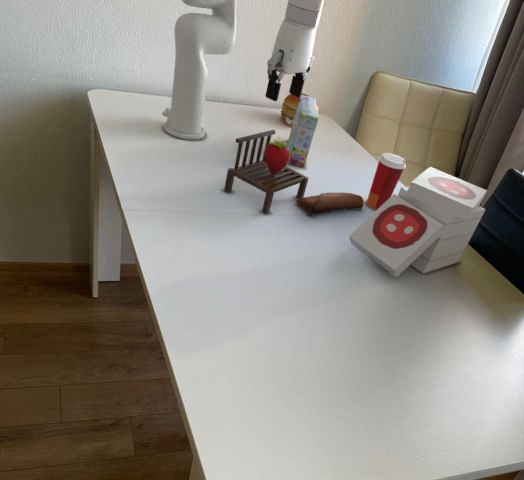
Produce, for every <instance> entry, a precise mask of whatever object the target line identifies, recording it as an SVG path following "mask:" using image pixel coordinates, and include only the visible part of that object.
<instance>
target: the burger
mask: <svg viewBox="0 0 524 480" xmlns="http://www.w3.org/2000/svg"><path fill="white" fill-rule="evenodd" d="M301 95H305V96H309V97H311V96H310V95H308V94H306V93H303V92H302V93H301ZM298 101H299V97H297V96H294V95H292V94H290V93H289V94H287V96H286V97H285V98H284V100H283V102H282V104H281V111H280V116H281V120H282V121H283V122H284V123H286V124H287V125H290V126H292V125H293V121H294V117H295V113H296V109H297V105H298ZM316 106H317V113H318V114H319V112H318V111H319V105H318V102H317V101H316Z"/></svg>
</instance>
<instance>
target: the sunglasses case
mask: <svg viewBox="0 0 524 480" xmlns="http://www.w3.org/2000/svg"><path fill="white" fill-rule="evenodd" d="M295 202H296V204H297V206H298V207H299V208H300V209H301V210H302V211H304V213H305V214H307V215H308V216H312V215H320V214H324V213H331V212H337V211H344V210H347V211H348V210H355V209H356V210H357V209H358V210H362V209H363V207H364V205H365V202H364V198H363V197H362V196H361V195H359V194H356V193H351V192H324V193H320V194H318V195H310V196H306V197H303V198H301V199H298V198H297V199H296V200H295Z"/></svg>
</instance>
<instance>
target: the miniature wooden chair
mask: <svg viewBox="0 0 524 480" xmlns="http://www.w3.org/2000/svg"><path fill="white" fill-rule="evenodd" d="M273 135H276V130H275V129H271V130H266V131H262V132H257V133H253V134H250V135H246V136H245V135H244V136H241V137H237V138H235V143H237V144H238V146H237V150H236V151H237V152H236V157H235V161H234V167H229V168H227V173H226V179H225V183H224V188H223V189H224V190H223V191H224V192H225V193H227V194H229V193H232V191H233V185H234V180H235V178H237V179H240V180H241V181H243V182H245V183H246V184H248V185H250V186H252V187H254V188H255V189H257V190H259V191H261V192H263V193H265V196H264V200H263V205H262V210H261V213H263V214H266V215H268V214H269V213H270V211H271V207H272V203H273V202H272V201H273V199H274V194H275V193H277V192H281V191H283V190H285V189H287V188H290V187H293V186H296V185H298V184H299V186H298V188H297V189H298V190H297V193H296V196H295V198H296V199H297V200H298V199H301V198H305V197H304V196H305V193H306V189H307V185H308V183H309V182H308V181H309V179H310V177H309V176H307V175H304V174H302V173H300V172H298V171H296V170H295V169H292V168H290V167H288V166H287V165H286V166H285V167H284V168H283V169H282V170H281V171H279V172H278V173H276V174H275V175H272V174H271V173H270V170H269V168H268V166H267V164H266V161H265V158H264V153H263V155H262V152H263V147H264V148H265V147H266V146H267V145H268V144H269V143H271V140H272V139H271V138H272V136H273ZM265 137H266V141H265ZM258 140H259V143H258ZM251 141H252V145H251ZM264 142H265V145H264ZM244 143H245V146H244ZM257 145H258V148H257ZM243 146H244V152H243ZM250 146H251V149H250ZM256 148H257V153H256ZM249 150H251V151H250V155H249ZM242 152H243V156H242ZM255 154H256V155H255ZM241 156H242V162H241V161H240V160H241ZM255 156H256V158H255ZM248 157H249V160H248ZM261 157H262V159H261ZM254 158H255V159H254ZM254 160H255V161H254ZM247 161H248V163H247ZM240 162H241V165H240Z"/></svg>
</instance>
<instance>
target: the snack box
mask: <svg viewBox="0 0 524 480" xmlns="http://www.w3.org/2000/svg"><path fill="white" fill-rule="evenodd" d="M309 96H310V95H309ZM309 96H305V95H301V96H300V97H299V101H298V105H297V109H296V113H295V117H294V121H293V125H291V129H290V133H289V135H288V139H287V140H288V141H287V143H288V144H287V146H288V151H289V153H290V160H289V162H288V164H289V165H292V166H295V167H299V168H305V166H306V162H307V159H308V155H309V152H310V149H311V145H312V142H313V139H314V135H315V132H316V128H317V125H318V121H319V112H318V111H317V106H316V102H317V100H316V98H315V97H312V96H310V97H309ZM317 112H318V113H317Z"/></svg>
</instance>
